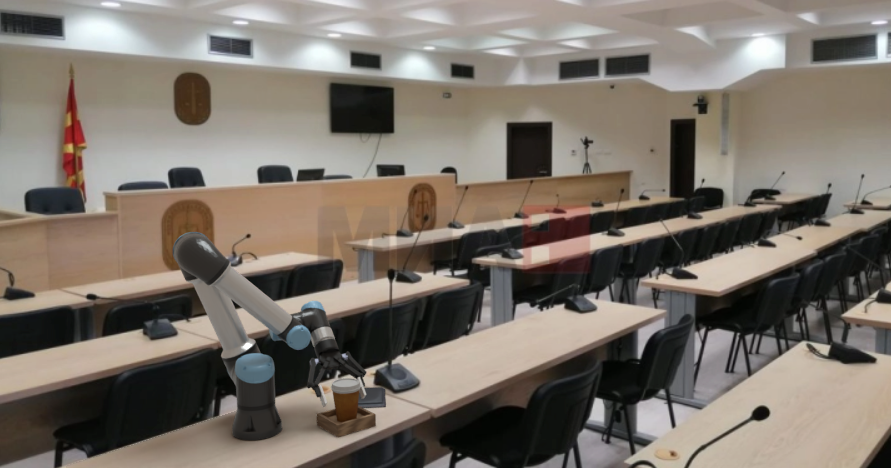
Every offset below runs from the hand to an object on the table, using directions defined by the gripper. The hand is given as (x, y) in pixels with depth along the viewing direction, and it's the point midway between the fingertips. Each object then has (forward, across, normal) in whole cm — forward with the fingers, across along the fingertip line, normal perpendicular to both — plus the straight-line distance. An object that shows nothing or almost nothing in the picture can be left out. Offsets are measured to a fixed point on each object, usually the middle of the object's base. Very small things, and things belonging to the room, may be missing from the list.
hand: (345, 401), depth 229 cm
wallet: (-7, -17, -20) cm, 27 cm away
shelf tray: (+6, 0, -5) cm, 8 cm away
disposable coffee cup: (+4, 0, -4) cm, 6 cm away
